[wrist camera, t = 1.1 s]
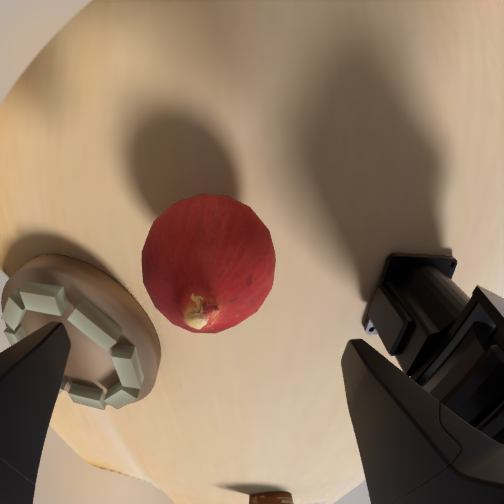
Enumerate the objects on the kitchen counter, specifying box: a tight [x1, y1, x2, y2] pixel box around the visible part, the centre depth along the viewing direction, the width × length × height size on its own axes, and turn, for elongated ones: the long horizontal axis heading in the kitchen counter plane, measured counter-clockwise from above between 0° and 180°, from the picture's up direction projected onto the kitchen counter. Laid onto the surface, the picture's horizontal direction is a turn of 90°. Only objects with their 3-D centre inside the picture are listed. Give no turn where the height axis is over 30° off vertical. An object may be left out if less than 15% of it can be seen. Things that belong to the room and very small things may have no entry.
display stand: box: [1, 254, 161, 410], centre depth 17 cm, size 14×14×3 cm
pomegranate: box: [142, 194, 276, 333], centre depth 12 cm, size 6×6×8 cm
